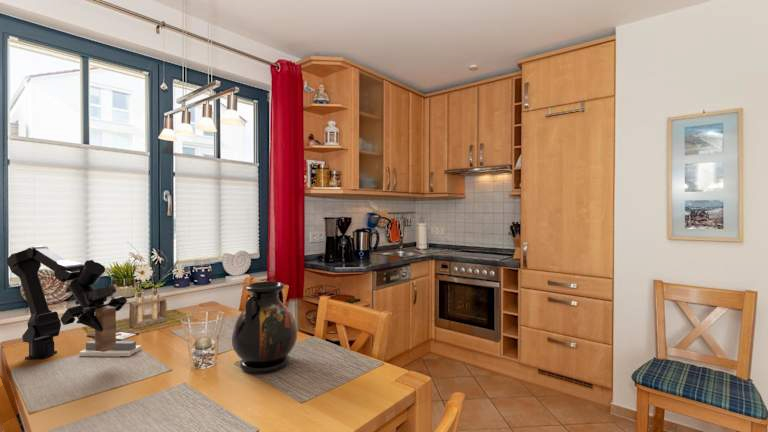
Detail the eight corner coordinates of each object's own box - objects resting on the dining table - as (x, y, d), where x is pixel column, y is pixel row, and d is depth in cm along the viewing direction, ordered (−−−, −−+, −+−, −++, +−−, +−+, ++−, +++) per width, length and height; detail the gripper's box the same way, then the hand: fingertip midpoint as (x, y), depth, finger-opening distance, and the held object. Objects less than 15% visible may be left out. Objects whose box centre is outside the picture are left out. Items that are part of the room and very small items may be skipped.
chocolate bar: (108, 328, 165) (138, 333, 160) (108, 331, 165) (138, 335, 160) (86, 335, 157) (118, 340, 151) (86, 337, 157) (118, 342, 151)
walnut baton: (95, 350, 125) (95, 308, 125) (107, 346, 129) (107, 306, 128) (103, 352, 124) (103, 310, 123) (115, 347, 127) (115, 307, 127)
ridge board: (79, 356, 136) (79, 345, 136) (94, 348, 143) (94, 338, 143) (128, 356, 136) (128, 345, 136) (141, 349, 143) (141, 338, 143)
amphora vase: (272, 383, 116) (272, 293, 115) (217, 373, 123) (217, 288, 122) (308, 357, 136) (308, 281, 136) (259, 349, 143) (259, 277, 143)
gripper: (66, 283, 118) (91, 321, 115) (123, 273, 136) (146, 306, 133) (49, 305, 121) (73, 343, 117) (107, 293, 138) (130, 326, 135)
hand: (108, 328), depth 126 cm, fingers closed on walnut baton, 4 cm apart
